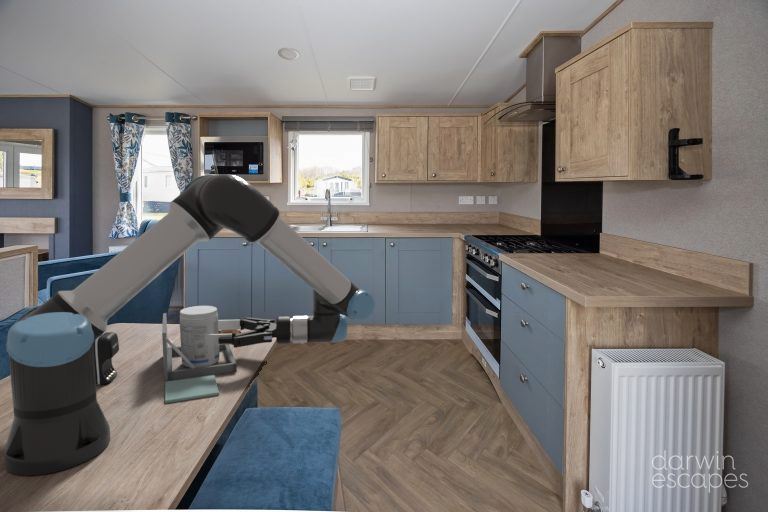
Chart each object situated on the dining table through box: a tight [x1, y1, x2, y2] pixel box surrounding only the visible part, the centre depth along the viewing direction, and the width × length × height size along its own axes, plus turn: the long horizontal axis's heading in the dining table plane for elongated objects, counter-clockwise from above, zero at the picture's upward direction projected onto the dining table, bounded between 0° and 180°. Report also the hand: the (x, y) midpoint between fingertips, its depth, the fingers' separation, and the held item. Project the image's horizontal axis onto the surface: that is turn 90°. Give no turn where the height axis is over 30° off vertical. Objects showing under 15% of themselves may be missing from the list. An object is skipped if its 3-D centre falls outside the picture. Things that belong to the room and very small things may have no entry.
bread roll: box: [219, 329, 243, 334], centre depth 144 cm, size 11×8×4 cm
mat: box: [164, 374, 220, 404], centre depth 106 cm, size 11×11×1 cm
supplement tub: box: [179, 305, 220, 369], centre depth 122 cm, size 10×10×15 cm
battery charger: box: [93, 331, 120, 386], centre depth 109 cm, size 7×4×11 cm, turn 13°
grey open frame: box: [161, 312, 237, 382], centre depth 122 cm, size 17×20×12 cm
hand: (210, 332), depth 122 cm, fingers open, 13 cm apart
